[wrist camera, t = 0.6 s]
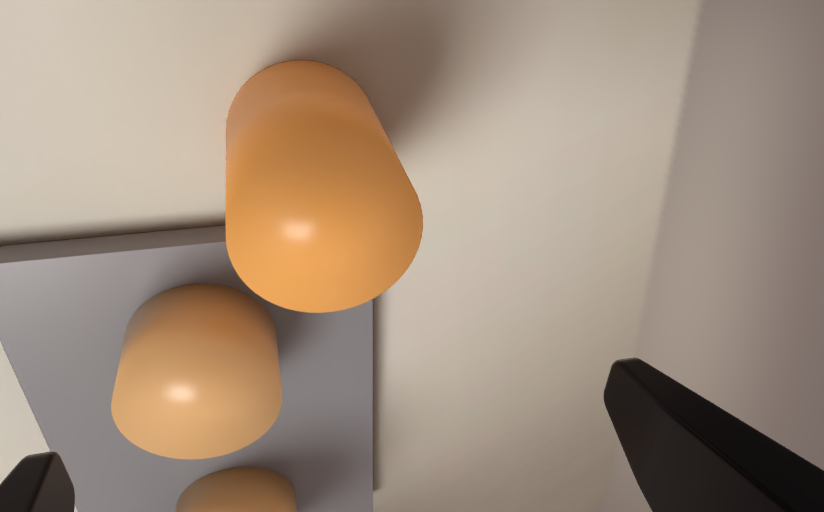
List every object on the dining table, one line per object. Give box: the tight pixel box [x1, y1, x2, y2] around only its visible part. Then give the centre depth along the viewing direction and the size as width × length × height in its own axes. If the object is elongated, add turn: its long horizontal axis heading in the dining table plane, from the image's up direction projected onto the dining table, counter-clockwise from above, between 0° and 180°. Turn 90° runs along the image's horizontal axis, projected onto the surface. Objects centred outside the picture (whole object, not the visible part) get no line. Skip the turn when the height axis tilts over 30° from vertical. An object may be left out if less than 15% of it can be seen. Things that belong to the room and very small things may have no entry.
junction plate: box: [0, 225, 373, 512], centre depth 21 cm, size 16×12×8 cm
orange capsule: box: [226, 60, 423, 313], centre depth 17 cm, size 5×5×6 cm
